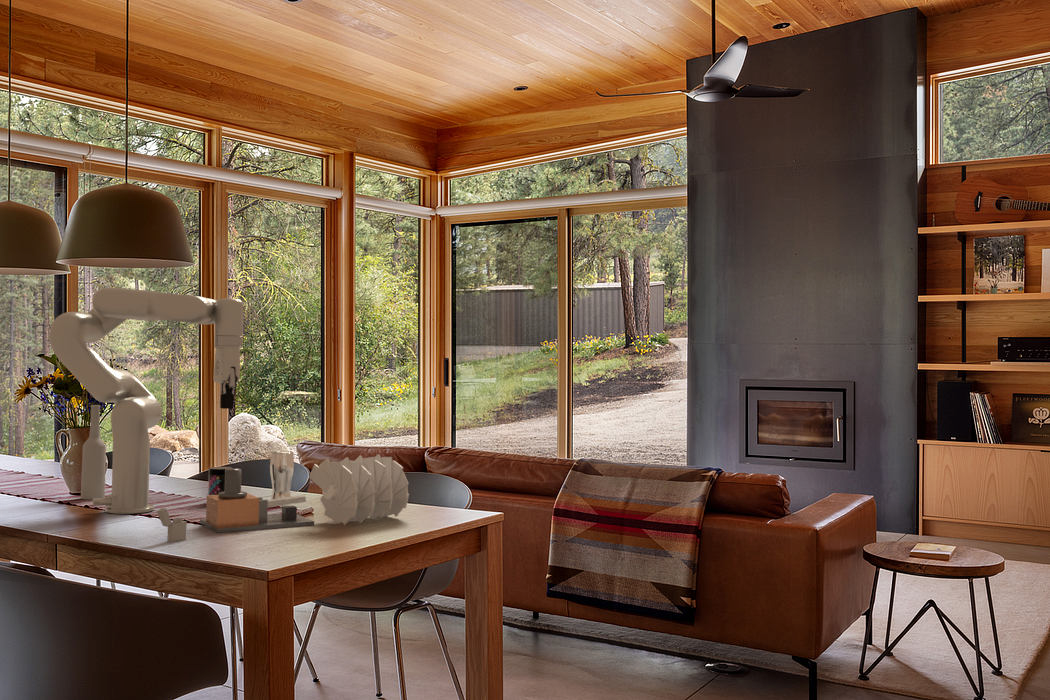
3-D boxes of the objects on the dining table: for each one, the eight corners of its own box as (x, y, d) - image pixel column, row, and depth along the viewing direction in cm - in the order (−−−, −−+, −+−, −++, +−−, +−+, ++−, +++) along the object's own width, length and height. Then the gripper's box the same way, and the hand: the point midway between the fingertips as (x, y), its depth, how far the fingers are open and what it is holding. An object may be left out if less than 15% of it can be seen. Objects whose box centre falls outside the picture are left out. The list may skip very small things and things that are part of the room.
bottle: (95, 500, 276) (98, 406, 277) (75, 499, 278) (78, 405, 278) (109, 497, 283) (112, 405, 283) (90, 496, 284) (93, 404, 285)
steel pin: (222, 523, 233) (223, 471, 233) (214, 519, 239) (215, 468, 239) (249, 521, 237) (251, 470, 237) (241, 517, 243) (243, 467, 243)
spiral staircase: (404, 532, 257) (335, 539, 237) (366, 498, 267) (297, 503, 247) (429, 474, 253) (361, 477, 233) (389, 442, 263) (321, 443, 243)
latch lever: (261, 508, 241) (260, 502, 241) (258, 506, 243) (258, 501, 243) (305, 501, 247) (305, 496, 247) (302, 500, 249) (302, 495, 249)
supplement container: (208, 501, 279) (209, 466, 279) (232, 501, 280) (233, 466, 281) (206, 504, 272) (207, 469, 272) (230, 504, 274) (231, 469, 274)
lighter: (181, 538, 220) (182, 504, 220) (186, 539, 219) (187, 505, 219) (155, 543, 214) (156, 508, 214) (160, 544, 213) (161, 509, 213)
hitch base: (216, 533, 228) (217, 502, 228) (199, 523, 241) (200, 494, 241) (314, 525, 241) (315, 496, 242) (293, 516, 255) (294, 488, 255)
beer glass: (267, 500, 283) (268, 451, 283) (290, 499, 286) (291, 450, 286) (271, 503, 277) (272, 453, 277) (294, 502, 280) (296, 452, 280)
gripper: (207, 342, 263) (205, 407, 263) (222, 342, 251) (220, 409, 250) (234, 343, 267) (232, 407, 267) (249, 342, 255) (248, 409, 255)
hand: (226, 408), depth 259 cm, fingers closed
